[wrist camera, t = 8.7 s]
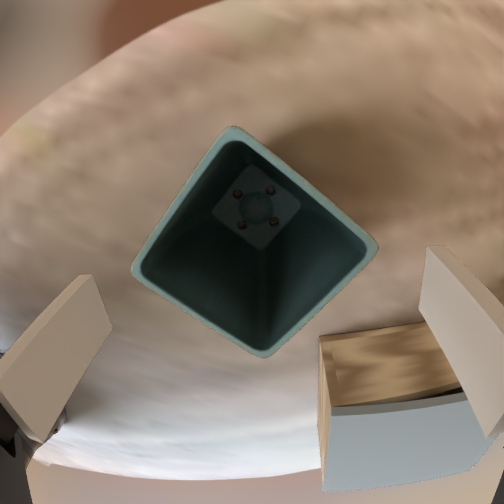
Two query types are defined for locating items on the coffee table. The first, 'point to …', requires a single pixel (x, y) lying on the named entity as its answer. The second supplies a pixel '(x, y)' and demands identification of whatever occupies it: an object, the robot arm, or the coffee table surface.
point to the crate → (380, 371)
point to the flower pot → (251, 246)
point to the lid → (402, 443)
